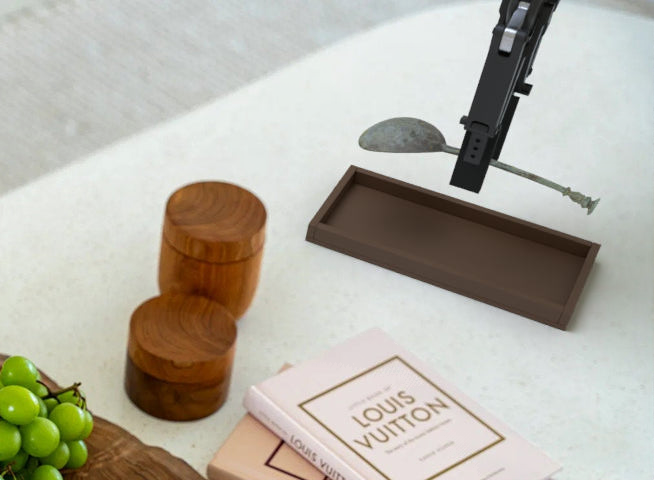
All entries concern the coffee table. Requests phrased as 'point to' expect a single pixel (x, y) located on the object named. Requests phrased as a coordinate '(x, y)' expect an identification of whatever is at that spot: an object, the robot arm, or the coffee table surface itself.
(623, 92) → the coffee table surface
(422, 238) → the cutlery tray
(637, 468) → the coffee table surface
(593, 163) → the coffee table surface
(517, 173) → the soupspoon
